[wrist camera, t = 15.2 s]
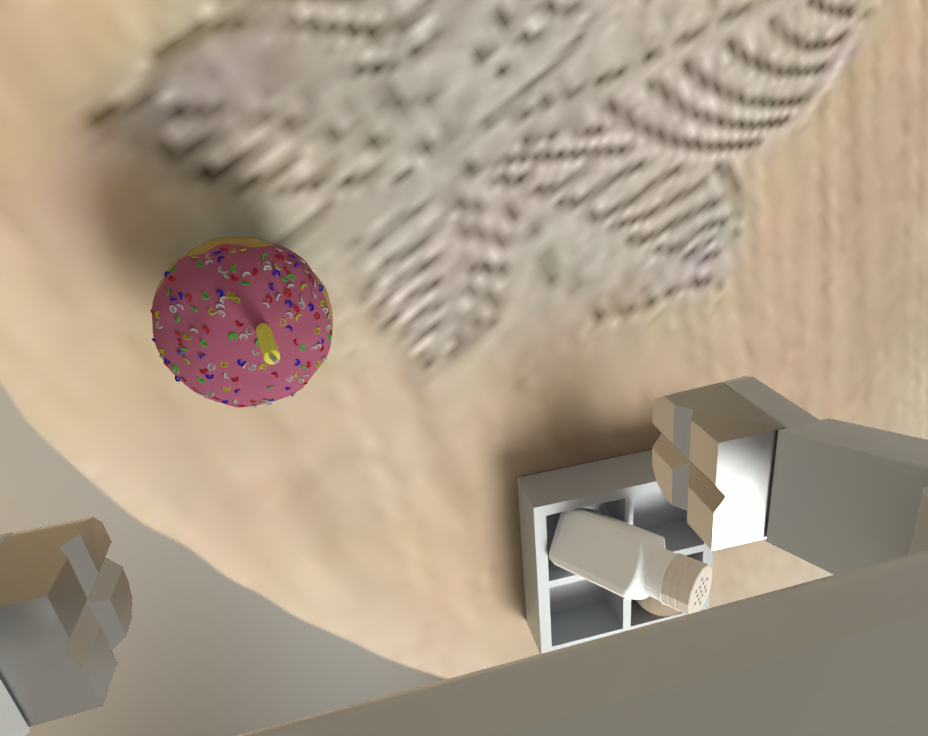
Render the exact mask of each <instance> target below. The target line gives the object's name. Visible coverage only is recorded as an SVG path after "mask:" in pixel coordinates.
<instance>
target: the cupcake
mask: <svg viewBox="0 0 928 736" xmlns="http://www.w3.org/2000/svg"><path fill="white" fill-rule="evenodd" d="M151 313H152V321H153V336H154V339H153V338H152V340H153V341H154V342H155V344H156V347H157V349H158V351H159V353H160V355H159V356H160V357H161V358H162V359H163V360H164V362H163V363H164V364H165V365H166V366H167V367H168V368H169V369H170V370H171V372H172V373H173V374H174V375H175V380H176V381H177V382H179V381H180V380H181V381H182V382H183V383H184V384H185V385H186V386H188V387H189V388H190V389H191V390H193V391H194V392H196V393H198V394H200V395H201V396H204V397H206V398H208V399H211V400H214V401H217V402H220V403H224V404H227V405H230V406H233V407H249V406H254V407H258V406H255V405H260V404H265V405H270V404H271V403H272V402H273V401H276V400H279V399H282V398H285V397H287V396H289V395H291V396H292V397H293V396H294V395H295V393H296V392H297V391H299V390H300V389H301V388H303V387H304V386H305V384H307V382H308V381H309V379H310V378H311V377H312V375H313V374H314V373H315V372H316V370H317V369H318V368H319V367H320V365H321V364H322V363H323V361H324V360H326V359H327V357H326V356H327V354H328V352H329V349H330V344H331V336H332V330H333V315H332V309H331V305H330V301H329V297H328V293H327V291H326V288H325V286H324V285H323V283H322V282H321V281H320V279H319V278H318V277H317V276H316V275H315V273H314V272H313V271H312V270H311V268H310V267H309V265H308V264H307V263H306V262H305V261H304V260H303V259H302V258H301V257H300V256H298V255H297V254H295V253H294V252H292V251H291V250H289V249H287V248H285V247H282V246H278V245H273V244H271V243H268V242H265V241H263V240H260V239H256V238H217V239H213V240H210V241H208V242H205V243H203V244H201V245H200V246H198V247H196V248H195V249H193V250H192V251H190V252H189V253H188V254H186V255H185V256H184V257H182V258H180V259H179V260H177V261H175V262H174V263H173V264H172V265H171V266H170V267H169V269H168V270H167V271H166V272H165V274H164V277H163V279H162V280H161V282H160V284H159V285H158V288H157V290H156V293H155V296H154V300H153V306H152V310H151ZM177 377H178V378H179V380H178V379H177ZM269 402H270V403H269ZM267 403H269V404H267Z"/></svg>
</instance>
